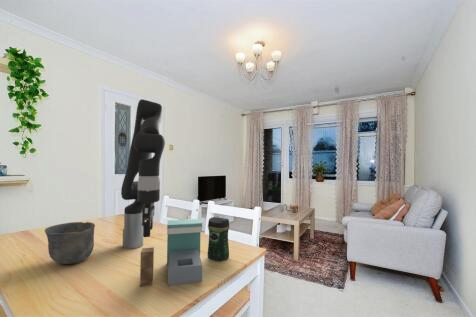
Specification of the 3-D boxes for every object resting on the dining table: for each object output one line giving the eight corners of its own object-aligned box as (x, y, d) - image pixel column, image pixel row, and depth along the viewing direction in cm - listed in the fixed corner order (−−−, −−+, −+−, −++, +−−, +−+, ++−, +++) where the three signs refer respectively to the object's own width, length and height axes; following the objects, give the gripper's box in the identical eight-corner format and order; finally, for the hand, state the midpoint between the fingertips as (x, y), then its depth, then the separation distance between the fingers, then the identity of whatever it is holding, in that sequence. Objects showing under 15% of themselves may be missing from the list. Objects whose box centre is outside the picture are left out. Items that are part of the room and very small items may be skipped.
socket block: (168, 285, 81) (168, 268, 81) (169, 265, 97) (169, 251, 97) (201, 281, 84) (202, 265, 84) (197, 262, 100) (198, 248, 100)
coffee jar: (231, 257, 106) (232, 217, 106) (222, 264, 99) (223, 221, 99) (214, 253, 110) (215, 214, 111) (204, 259, 104) (205, 218, 104)
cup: (36, 275, 87) (38, 235, 87) (49, 257, 102) (50, 224, 103) (92, 266, 95) (93, 229, 95) (96, 251, 111) (96, 220, 111)
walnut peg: (139, 286, 80) (140, 252, 80) (141, 280, 84) (142, 248, 84) (152, 285, 81) (152, 251, 81) (153, 279, 85) (153, 247, 85)
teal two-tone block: (166, 271, 92) (167, 225, 92) (167, 263, 99) (167, 220, 99) (201, 267, 95) (202, 223, 95) (199, 260, 102) (200, 218, 103)
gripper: (140, 186, 89) (139, 228, 89) (134, 191, 75) (133, 240, 75) (160, 186, 91) (160, 226, 91) (158, 190, 77) (157, 238, 77)
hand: (148, 233), depth 83 cm, fingers open, 8 cm apart
